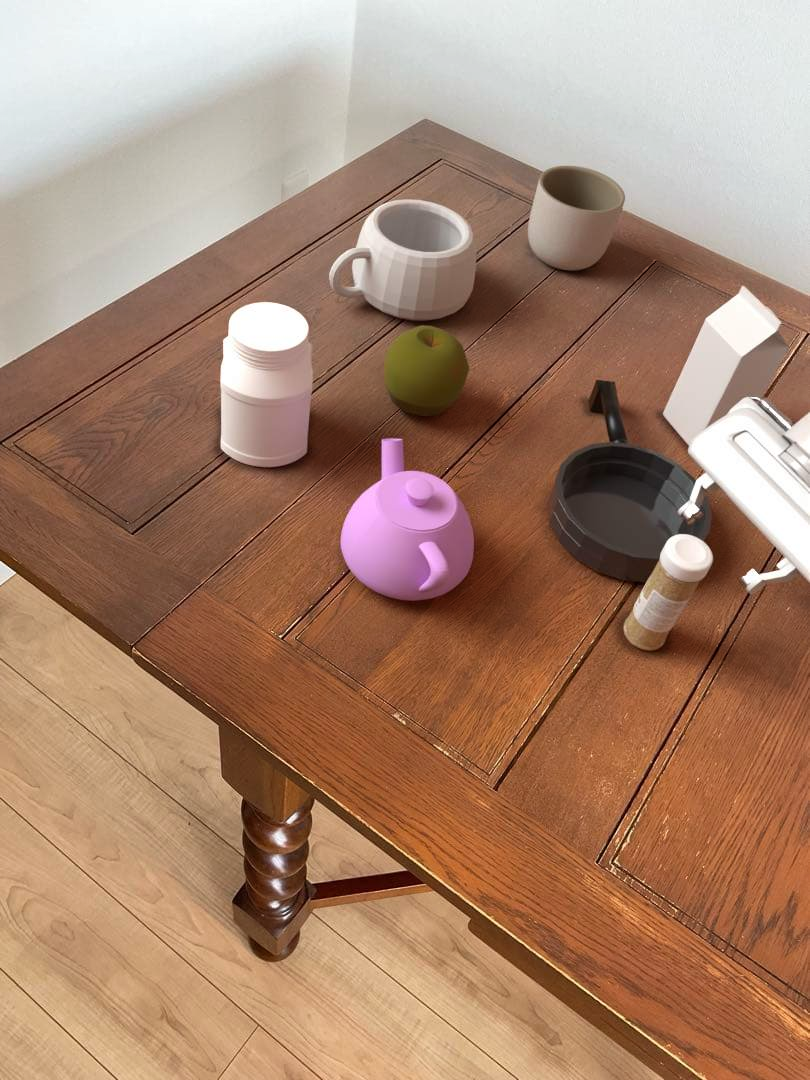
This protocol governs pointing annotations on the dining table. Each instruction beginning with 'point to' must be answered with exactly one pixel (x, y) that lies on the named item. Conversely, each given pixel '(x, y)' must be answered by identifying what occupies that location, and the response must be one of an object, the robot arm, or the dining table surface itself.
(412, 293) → the mug
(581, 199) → the planter
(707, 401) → the milk carton
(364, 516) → the teapot
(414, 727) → the dining table surface
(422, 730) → the dining table surface
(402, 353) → the apple
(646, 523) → the pan
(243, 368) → the jar
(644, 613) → the spice bottle
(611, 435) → the pan handle
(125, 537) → the dining table surface
